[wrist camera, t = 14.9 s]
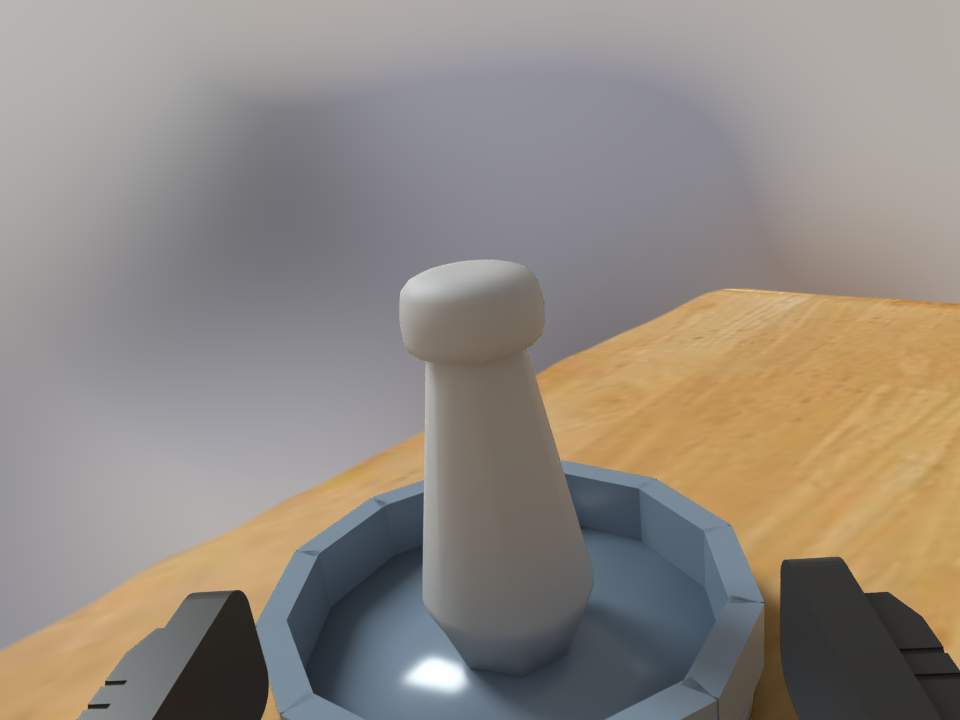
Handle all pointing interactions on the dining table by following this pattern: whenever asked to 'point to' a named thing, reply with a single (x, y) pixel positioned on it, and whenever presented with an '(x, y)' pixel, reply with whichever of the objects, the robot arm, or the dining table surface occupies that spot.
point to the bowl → (557, 685)
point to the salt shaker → (492, 472)
